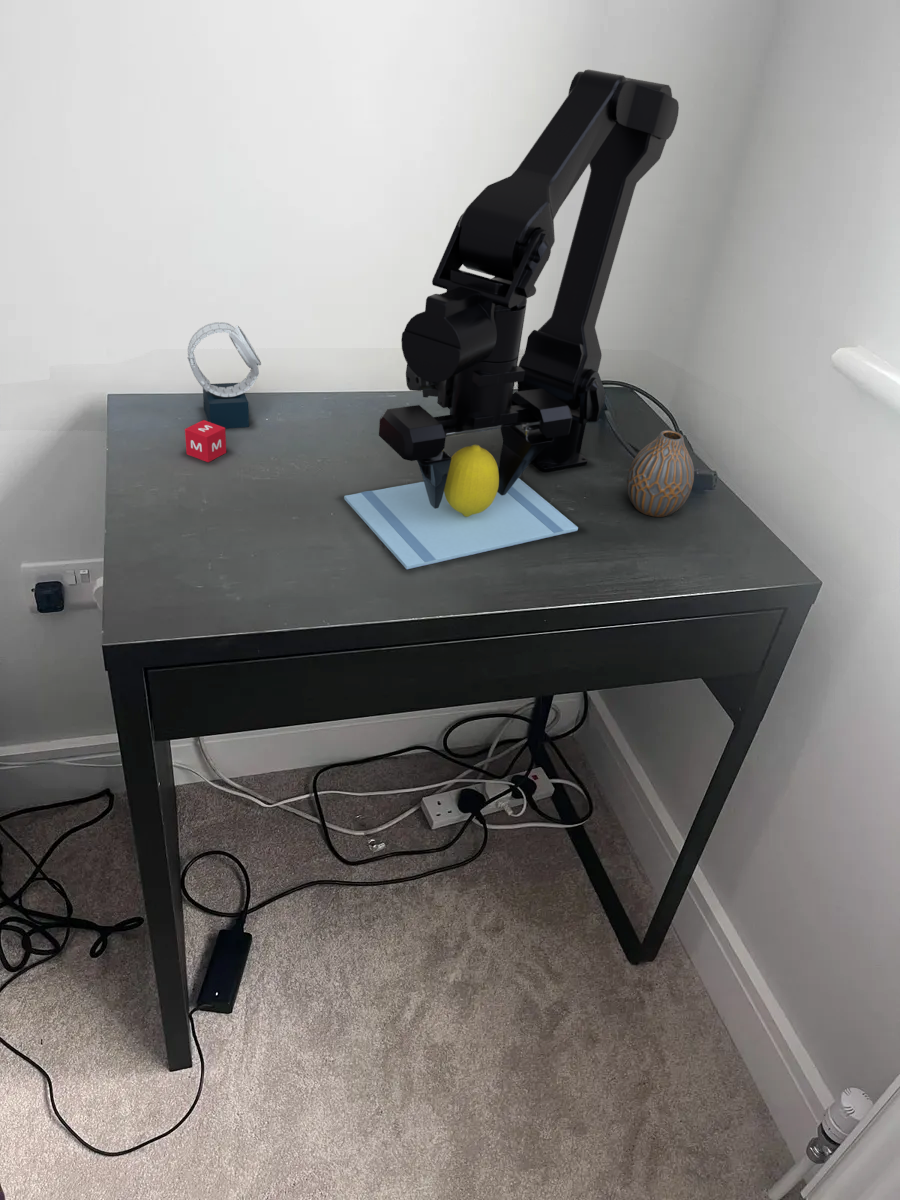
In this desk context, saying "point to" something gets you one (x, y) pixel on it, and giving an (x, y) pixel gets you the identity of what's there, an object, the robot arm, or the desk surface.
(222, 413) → the watch
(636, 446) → the desk surface
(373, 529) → the cloth
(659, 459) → the vase
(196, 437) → the red letter cube
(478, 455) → the lemon
